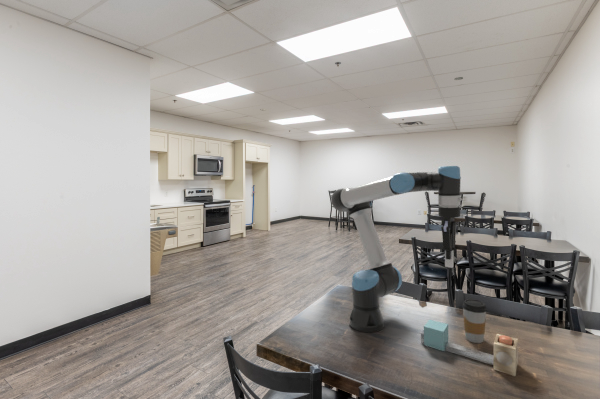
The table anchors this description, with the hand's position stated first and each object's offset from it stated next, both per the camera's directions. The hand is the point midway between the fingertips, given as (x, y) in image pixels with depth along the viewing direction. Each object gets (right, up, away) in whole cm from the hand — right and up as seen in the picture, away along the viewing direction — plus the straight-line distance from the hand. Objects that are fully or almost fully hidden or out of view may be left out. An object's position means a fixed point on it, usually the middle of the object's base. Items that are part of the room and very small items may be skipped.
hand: (449, 266), depth 116 cm
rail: (+1, -31, -5) cm, 31 cm away
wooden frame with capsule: (+12, -31, -15) cm, 36 cm away
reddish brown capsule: (+12, -24, -15) cm, 30 cm away
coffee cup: (+12, -30, +3) cm, 32 cm away
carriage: (-5, -30, 0) cm, 31 cm away
